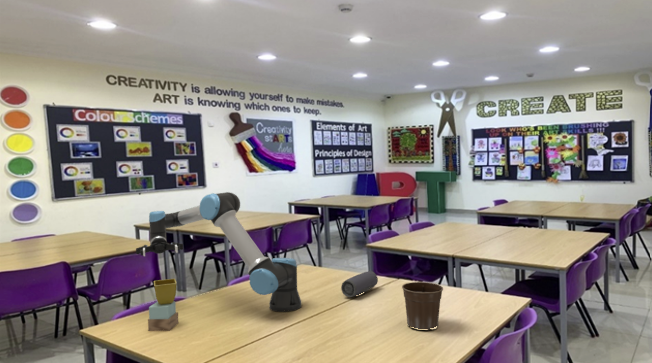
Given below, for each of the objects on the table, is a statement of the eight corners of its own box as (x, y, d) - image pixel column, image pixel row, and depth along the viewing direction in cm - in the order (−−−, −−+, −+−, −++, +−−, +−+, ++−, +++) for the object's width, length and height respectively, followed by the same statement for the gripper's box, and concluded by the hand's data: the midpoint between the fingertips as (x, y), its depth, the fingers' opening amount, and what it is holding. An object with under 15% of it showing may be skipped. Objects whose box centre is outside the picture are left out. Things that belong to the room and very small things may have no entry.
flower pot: (177, 304, 186) (176, 282, 186) (155, 307, 183) (154, 285, 183) (175, 298, 195) (175, 278, 194) (154, 301, 191) (153, 280, 191)
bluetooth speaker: (363, 287, 240) (363, 269, 240) (379, 289, 235) (378, 271, 234) (340, 298, 222) (339, 278, 222) (356, 301, 216) (355, 280, 216)
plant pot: (445, 321, 185) (444, 282, 184) (442, 335, 170) (441, 293, 169) (406, 318, 190) (405, 280, 190) (399, 331, 175) (398, 290, 175)
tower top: (175, 312, 191) (175, 301, 191) (168, 319, 183) (167, 307, 183) (157, 312, 191) (157, 301, 191) (149, 319, 183) (148, 307, 183)
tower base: (178, 323, 192) (178, 312, 192) (169, 331, 183) (169, 319, 183) (158, 323, 192) (157, 312, 192) (148, 331, 183) (147, 319, 183)
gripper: (186, 249, 221) (190, 256, 201) (131, 255, 212) (130, 263, 192) (185, 234, 221) (189, 240, 201) (130, 239, 211) (129, 245, 192)
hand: (160, 251), depth 196 cm, fingers open, 13 cm apart
